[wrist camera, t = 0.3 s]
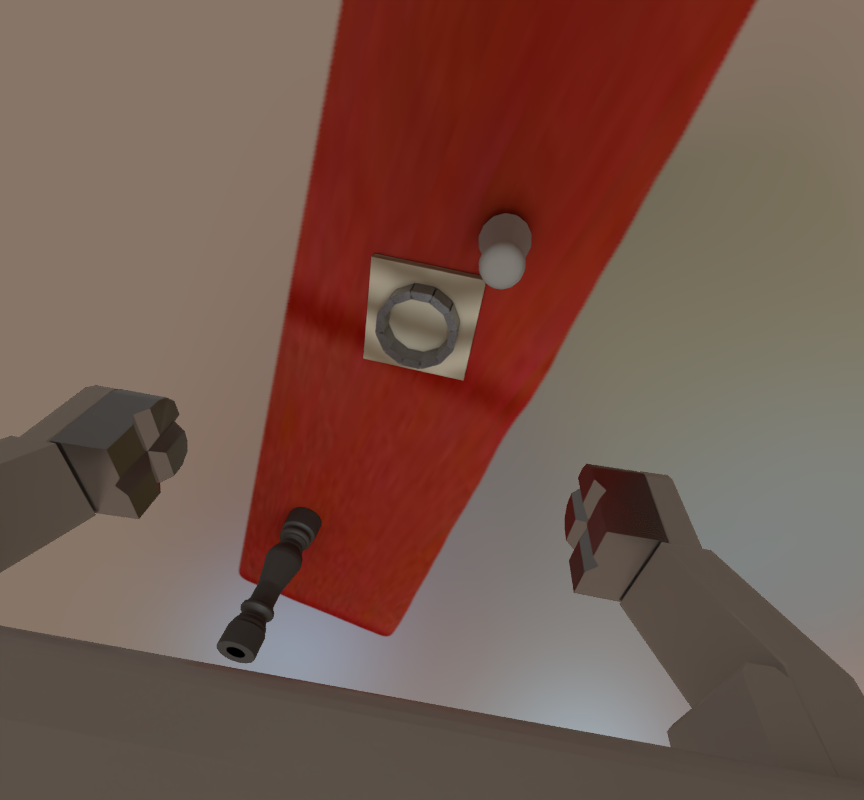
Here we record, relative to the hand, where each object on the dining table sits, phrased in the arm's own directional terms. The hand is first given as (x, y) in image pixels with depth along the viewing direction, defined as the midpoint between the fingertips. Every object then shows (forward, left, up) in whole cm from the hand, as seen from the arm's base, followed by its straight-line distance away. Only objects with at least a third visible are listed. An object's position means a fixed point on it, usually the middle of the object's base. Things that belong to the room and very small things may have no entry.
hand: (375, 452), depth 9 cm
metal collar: (+18, -5, -45) cm, 49 cm away
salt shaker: (+6, +3, -47) cm, 48 cm away
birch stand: (+18, -5, -47) cm, 51 cm away
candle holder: (+63, -21, -47) cm, 81 cm away
